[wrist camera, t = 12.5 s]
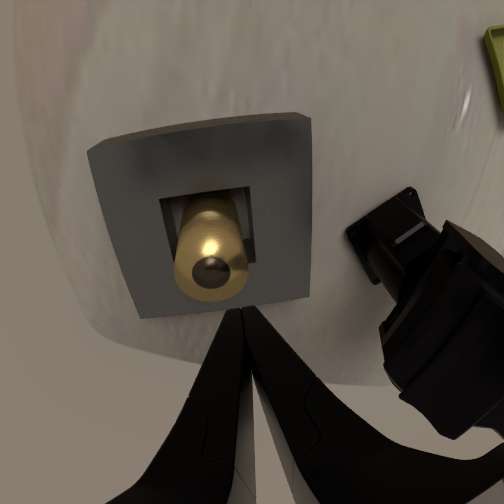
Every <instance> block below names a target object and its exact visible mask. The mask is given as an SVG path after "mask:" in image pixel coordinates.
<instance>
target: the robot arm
mask: <svg viewBox="0 0 504 504" xmlns="http://www.w3.org/2000/svg"><path fill="white" fill-rule="evenodd" d="M411 192H412V193H411ZM410 193H411V195H410V196H409V194H410ZM352 231H354V233H353V234H351V232H352ZM345 234H346V236H347V238H348V240H349V242H350V243H351V245H352V247H353V249H354V251H355V253H356V254H357V256H358V258H359V260H360V262H361V264H362V266H363V268H364V270H365V272H366V274H367V275H368V277H369V279H370V281H371V283H372V284H373V285H377V284H379V283H380V282H382V284H383V285H384V286H385V288H386V289H387V291H388V292H389V293H390V295H391V296H392V298H393V299H394V301H395V302H396V304H397V305H396V306H395V307H394V309H393V310H392V312H391V313H390V315H389V316H388V317H387V319H386V320H385V321H383V322H382V323H381V325H380V326H379V333H380V338H381V344H382V350H383V355H384V361H385V362H384V363H383V366H384V370H385V371H386V373H387V375H388V377H389V379H390V380H391V382H392V383H393V385H394V386H395V387H396V388H397V389H398V390H399V391H401V393H400V394H399V398H400V399H401V400H403V401H405V402H407V403H408V404H410V405H412V406H413V407H415V408H416V409H417V410H418V411H419V412H421V413H422V414H423V415H424V416H425V417H426V418H427V419H428V421H429V422H430V423H431V424H432V426H433V427H434V428H435V429H436V430H437V432H438V433H439V434H440V435H442V436H445V437H447V438H449V439H452V440H455V439H457V438H459V437H460V436H461V435H462V434H463V433H465V432H466V431H467V430H469V429H470V428H471V427H481V428H490V429H493V430H494V431H495V432H497V433H498V434H499V435H500V436H501V437H502V438H503V439H504V258H503V257H502V255H501V254H499V253H498V252H497V251H496V250H495V249H493V248H492V247H491V246H490V245H489V244H487V243H486V242H485V241H484V240H482V239H481V238H479V237H477V236H476V235H474V234H472V233H470V232H469V231H467V230H465V229H463V228H461V227H459V226H458V225H456V224H454V223H452V222H450V221H448V220H446V221H445V223H444V225H443V230H442V232H441V233H440V232H439V231H438V230H437V229H436V228H435V227H434V226H432V225H431V224H430V223H429V222H428V221H426V219H425V216H424V212H423V209H422V206H421V203H420V200H419V197H418V194H417V191H416V190H415V189H414V188H412V187H407V188H406V189H404V190H403V191H401V192H400V193H398V194H397V195H396V196H394V197H392V198H391V199H389V200H388V201H386V202H385V203H383V204H382V205H380V206H379V207H377V208H376V209H374V210H373V211H371V212H370V213H368V214H367V215H366V216H364V217H363V218H361V219H360V220H358V221H357V222H355V223H354V224H352V225H351V226H349V227H348V228H347V229H346V232H345ZM251 370H252V372H251ZM252 375H253V379H254V382H255V385H256V389H257V392H258V395H259V398H260V401H261V404H262V407H263V410H264V413H265V416H266V419H267V422H268V425H269V428H270V432H271V434H272V437H273V440H274V443H275V446H276V449H277V452H278V455H279V458H280V461H281V464H282V467H283V469H284V472H285V475H286V478H287V481H288V484H289V486H290V489H291V492H292V494H293V498H294V500H295V503H296V504H504V443H501V444H500V445H498V446H497V447H495V448H494V449H492V450H491V451H489V452H488V453H486V454H485V455H483V456H482V457H480V458H476V459H472V460H459V459H454V458H449V457H444V456H440V455H436V454H432V453H428V452H424V451H420V450H417V449H413V448H409V447H406V446H403V445H400V444H398V443H396V442H394V441H392V440H390V439H388V438H387V437H385V436H384V435H382V434H381V433H380V432H379V431H377V430H376V429H375V428H373V427H372V426H371V425H370V424H368V423H367V422H366V421H365V420H363V419H362V418H361V417H360V416H358V415H357V414H356V413H354V412H353V411H352V410H351V409H350V408H349V407H347V406H346V405H345V404H344V403H343V402H342V401H341V400H339V399H338V398H337V397H336V396H335V395H334V394H333V393H332V392H331V391H330V390H329V389H328V388H327V387H326V386H325V384H324V383H323V382H322V381H321V380H320V379H319V378H318V377H316V375H315V374H314V372H313V371H312V370H311V369H310V368H309V367H308V366H307V365H306V364H305V362H304V361H303V360H302V359H301V358H300V357H299V356H298V355H297V353H296V352H295V351H294V350H293V349H292V348H291V347H290V345H289V344H288V343H287V342H286V341H285V340H284V339H283V337H282V336H281V335H280V334H279V333H278V332H277V331H276V329H275V328H274V327H273V326H272V325H271V324H270V322H269V321H268V320H267V319H266V318H265V317H264V316H263V314H262V313H261V312H260V311H259V310H258V309H257V307H256V306H254V305H251V306H245V307H242V308H241V309H240V308H233V309H228V310H227V311H226V312H225V315H224V317H223V319H222V321H221V324H220V326H219V328H218V330H217V332H216V335H215V337H214V339H213V341H212V344H211V346H210V348H209V350H208V353H207V355H206V357H205V359H204V362H203V364H202V366H201V368H200V371H199V373H198V375H197V377H196V379H195V382H194V384H193V386H192V388H191V391H190V393H189V397H188V398H187V399H186V402H185V404H184V406H183V408H182V410H181V412H180V414H179V416H178V418H177V420H176V423H175V424H174V426H173V428H172V429H171V431H170V433H169V434H168V436H167V438H166V440H165V441H164V443H163V444H162V446H161V447H160V449H159V450H158V452H157V454H156V455H155V457H154V458H153V460H152V461H151V463H150V465H149V466H148V468H147V469H146V471H145V472H144V474H143V475H142V476H141V478H140V479H139V480H138V481H137V482H136V483H135V484H134V485H133V486H131V487H130V488H129V489H128V490H126V491H124V492H123V493H121V494H120V495H118V496H117V497H115V498H113V499H112V500H110V501H108V502H107V503H106V504H256V487H255V455H254V454H255V452H254V420H253V386H252Z"/></svg>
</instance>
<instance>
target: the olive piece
mask: <svg viewBox="0 0 504 504" xmlns="http://www.w3.org/2000/svg"><path fill="white" fill-rule="evenodd" d="M484 40H485V43H486V47H487V50H488V53H489V57H490V60H491V64H492V68H493V72H494V76H495V80H496V85H497V89H498V94H499V99H500V104H501V107H502V109H503V112H504V25H500V26H493V27H489V28H488V29H487V31H486V32H485V36H484Z"/></svg>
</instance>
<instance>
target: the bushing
mask: <svg viewBox="0 0 504 504" xmlns="http://www.w3.org/2000/svg"><path fill="white" fill-rule="evenodd" d="M248 274H249V267H248V262H247V257H246V252H245V248H244V243H243V238H242V233H241V228H240V223H239V218H238V213H237V208H236V204H235V201H234V199H233V197H232V196H231V195H230V194H229V193H228V192H227V191H226V190H224V189H222V190H215V191H207V192H200V193H193V194H190V195H189V196H188V198H187V199H186V201H185V204H184V209H183V215H182V220H181V226H180V232H179V238H178V244H177V251H176V257H175V264H174V278H175V280H176V283H177V285H178V286H179V288H180V289H181V290H182V291H183V292H184V293H186V294H187V295H188V296H190V297H192V298H194V299H197V300H201V301H207V302H215V301H221V300H225V299H227V298H230V297H232V296H234V295H235V294H236V293H238V292H239V291H240V290H241V289H242V288H243V286H244V285H245V283H246V281H247V278H248Z"/></svg>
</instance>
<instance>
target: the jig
mask: <svg viewBox="0 0 504 504" xmlns="http://www.w3.org/2000/svg"><path fill="white" fill-rule="evenodd" d="M87 155H88V160H89V164H90V168H91V172H92V176H93V180H94V184H95V188H96V191H97V195H98V199H99V202H100V206H101V209H102V213H103V216H104V219H105V223H106V226H107V229H108V232H109V235H110V238H111V241H112V245H113V247H114V250H115V253H116V256H117V259H118V262H119V265H120V268H121V270H122V273H123V276H124V279H125V281H126V284H127V286H128V289H129V292H130V294H131V297H132V299H133V302H134V304H135V307H136V309H137V312H138V314H139V316H140V319H144V318H154V317H164V316H174V315H183V314H192V313H200V312H208V311H216V310H224V309H232V308H239V307H245V306H251V305H260V304H267V303H274V302H280V301H287V300H293V299H299V298H305V297H309V291H310V268H311V237H312V133H311V118H309V117H307V116H304V115H302V114H299V113H297V112H289V113H272V114H258V115H247V116H237V117H227V118H219V119H211V120H204V121H197V122H190V123H183V124H177V125H172V126H166V127H160V128H155V129H150V130H145V131H140V132H136V133H131V134H126V135H122V136H118V137H114V138H110V139H105V140H103V141H101V142H100V143H98V144H97V145H95V146H94V147H92V148H91V149H89V150H88V151H87ZM238 187H246V197H247V208H248V219H249V229H250V239H245V240H243V243H244V248H245V252H246V257H247V262H248V267H249V274H248V278H247V281H246V283H245V285H244V286H243V288H242V289H241V290H240V291H239V292H238V293H236V294H235V295H234V296H232V297H230V298H227V299H225V300H221V301H215V302H207V301H201V300H197V299H194V298H192V297H190V296H188V295H187V294H186V293H184V292H183V291H182V290H181V289H180V288H179V286H178V285H177V283H176V280H175V278H174V264H175V257H176V251H177V244H178V238H177V233H176V229H175V224H174V220H173V215H172V210H171V205H170V200H169V197H174V196H180V195H187V194H193V193H200V192H207V191H215V190H222V189H230V188H238Z"/></svg>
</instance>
